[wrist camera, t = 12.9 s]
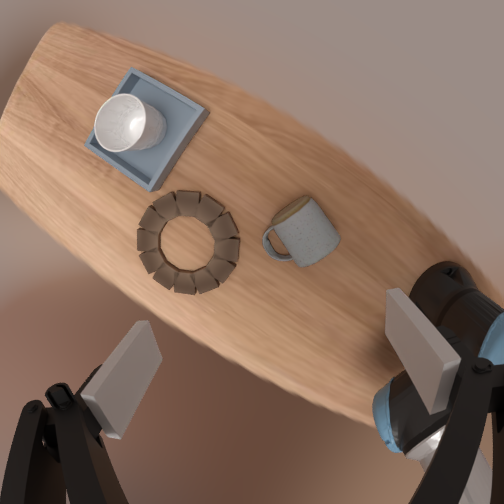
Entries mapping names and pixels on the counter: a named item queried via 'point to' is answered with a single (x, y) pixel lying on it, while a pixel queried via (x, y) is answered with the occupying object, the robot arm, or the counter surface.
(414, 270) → the counter surface
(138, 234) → the holder ring
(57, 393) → the robot arm
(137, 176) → the bin
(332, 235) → the ceramic mug
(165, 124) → the white cup
